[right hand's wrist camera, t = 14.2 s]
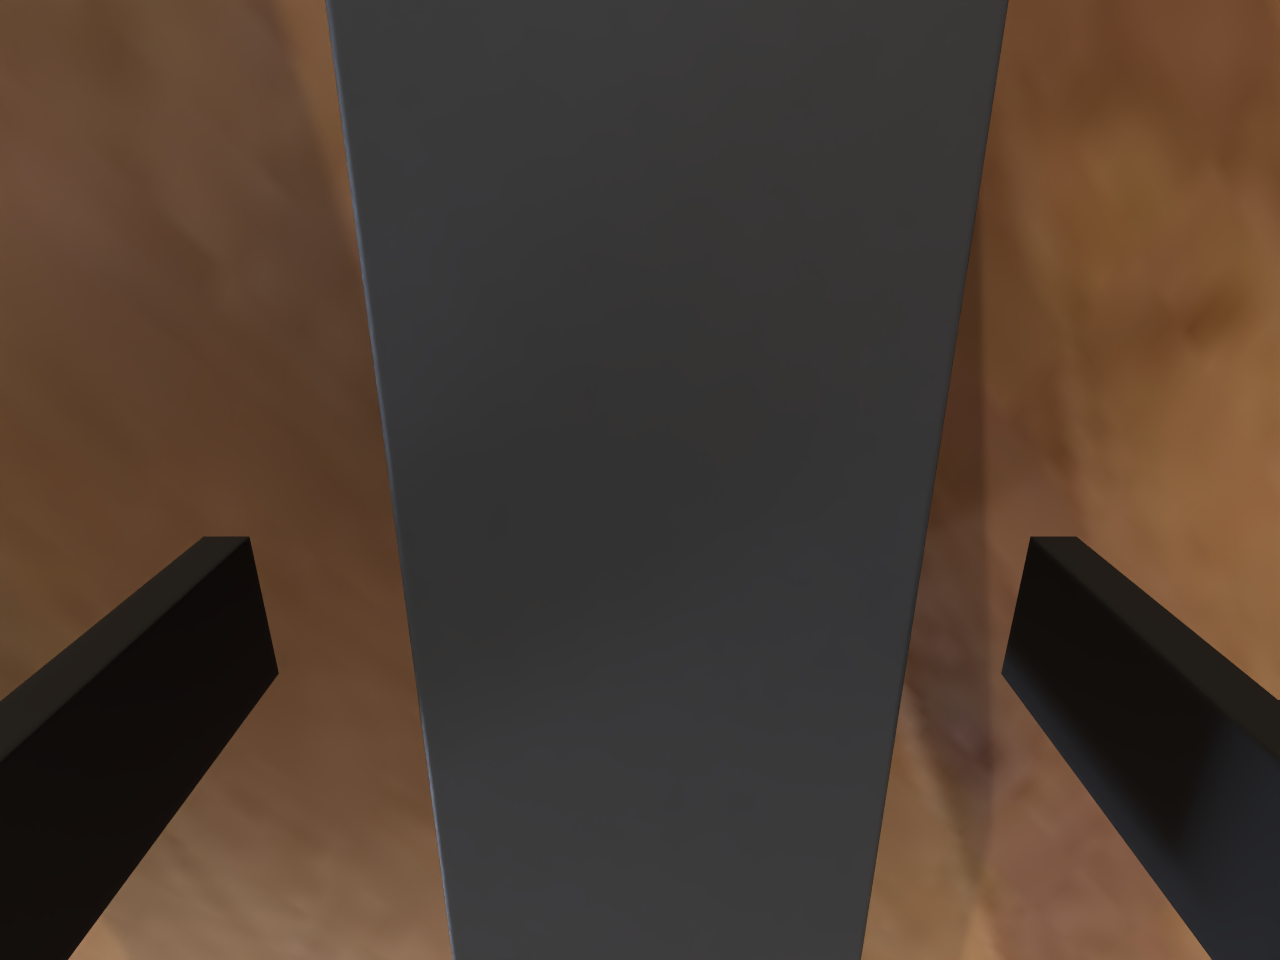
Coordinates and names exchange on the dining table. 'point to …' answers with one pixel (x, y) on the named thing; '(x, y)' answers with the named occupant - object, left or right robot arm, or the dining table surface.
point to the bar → (662, 439)
